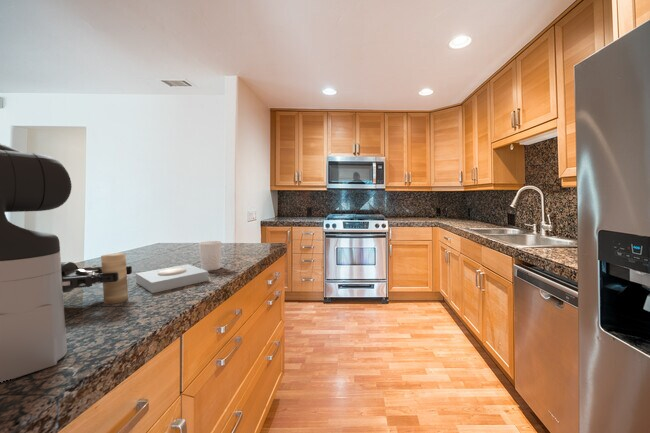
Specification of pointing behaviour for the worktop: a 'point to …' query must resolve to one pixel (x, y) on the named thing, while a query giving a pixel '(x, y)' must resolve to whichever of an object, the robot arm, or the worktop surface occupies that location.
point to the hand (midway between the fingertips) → (124, 273)
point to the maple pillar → (118, 289)
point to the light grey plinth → (171, 277)
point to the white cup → (210, 255)
